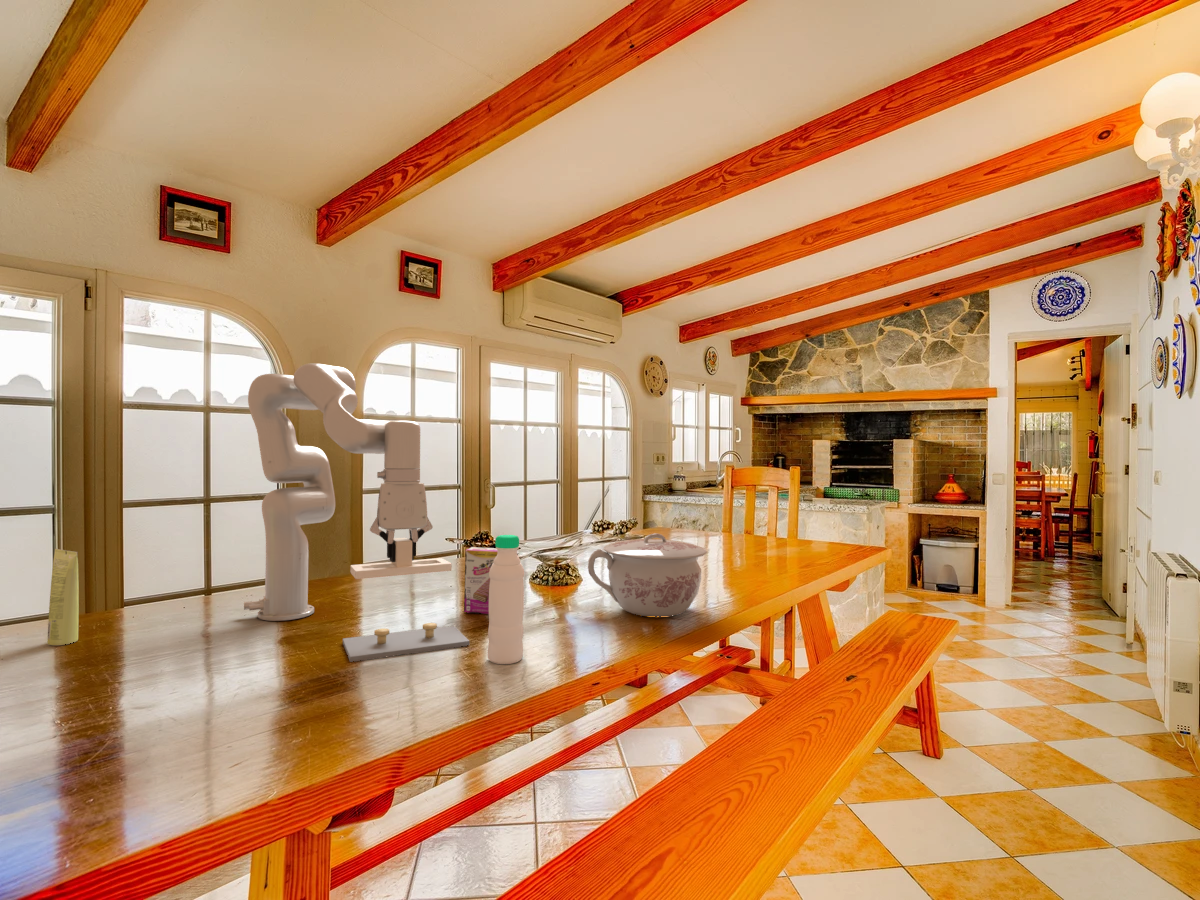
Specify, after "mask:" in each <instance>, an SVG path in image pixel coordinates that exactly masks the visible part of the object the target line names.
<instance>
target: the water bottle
mask: <svg viewBox="0 0 1200 900" xmlns="http://www.w3.org/2000/svg"><path fill="white" fill-rule="evenodd" d="M494 543H495V548H496V549H497V551H498V554H497V556H496V557H495V559H494V563H493V564H492V566H491V568H490V571H489V577H490V585H489V614H488V622H489V624H488V630H487V631H488V632H487V633H488V634H487V635H488V645H487V659H488V660H489V662H491V663H493V664H497V665H510V664H511V665H512V664H515V663H518V662H520V661H521V660H522V659H523V658H524V657H523V656H524V645H523V644H524V643H523V638H524V625H523V620H524V607H525V606H524V603H525V602H524V601H525V590H524V589H525V586H524V577H525V568H524V565H523V563H521V559H520V556H518V550H519V546H520V537H519V536H518V535H514V534H501V535H498V536H496V537H495V542H494Z"/></svg>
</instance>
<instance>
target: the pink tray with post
mask: <svg viewBox="0 0 1200 900" xmlns="http://www.w3.org/2000/svg"><path fill="white" fill-rule="evenodd" d="M394 544H395V545H396V558H395V562H391V561H386V562H376V563H375V562H374V563H371V562H370V563H362V564H361V563H360V564H351V565H349V567H350V570H349V571H350V572H349V573H350V574H351V575H352V576H353V577H354V579H355V580H361V579H362V580H363V579H373V578H374V579H375V578H385V577H398V576H405V575H406V576H407V575H408V576H409V575H418V574H419V575H420V574H428V573H429V574H430V573H440V572H452V571H453V569H452V566H453V564H452V563H451V562H450V561H448V560H446V559H445V558H442V557H438V558H426V559H424V558H423V559H414V560H413V561H412V541H411V540H410V539H409V538H407V537H394Z"/></svg>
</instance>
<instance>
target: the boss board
mask: <svg viewBox="0 0 1200 900" xmlns="http://www.w3.org/2000/svg"><path fill="white" fill-rule="evenodd" d="M467 645H469V646H470V640H469V639H468V638H467V637H466V636H465V635H464V634H463V632H461V631H460V630H459V629H458V628H457V627H456V626H455V625H454V624H453V625H445V626H443V625H442V626H438V624H437V623H435V622H426V623H423V624H422V628H419V629H418V628H417V629H412V630H402V631H395V632H390V629H389V628H385V627H384V628H376V629H375V630H374V633H373V634H369V635H362V636H351V637H345V638H344V637H343V638H342V646H343V648H344V650H345V652H346V655H348V656H347V658H348V660H349V662H350V663H351V662H352V663H354V662H359V661H360V660H361V661H367V659H368V660H374V659H373V658H376V659H381V658H380V657H383V658H387V657H386V656H390V657H394V656H393V655H397V656H400V655H399V654H405V655H409V654H408V653H412V654H418V653H417V652H419V653H425V652H424V651H426V652H432V650H434V651H439V650H447V649H455V648H461V646H463V647H468V646H467ZM454 647H455V648H454ZM353 661H354V662H353Z"/></svg>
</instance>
